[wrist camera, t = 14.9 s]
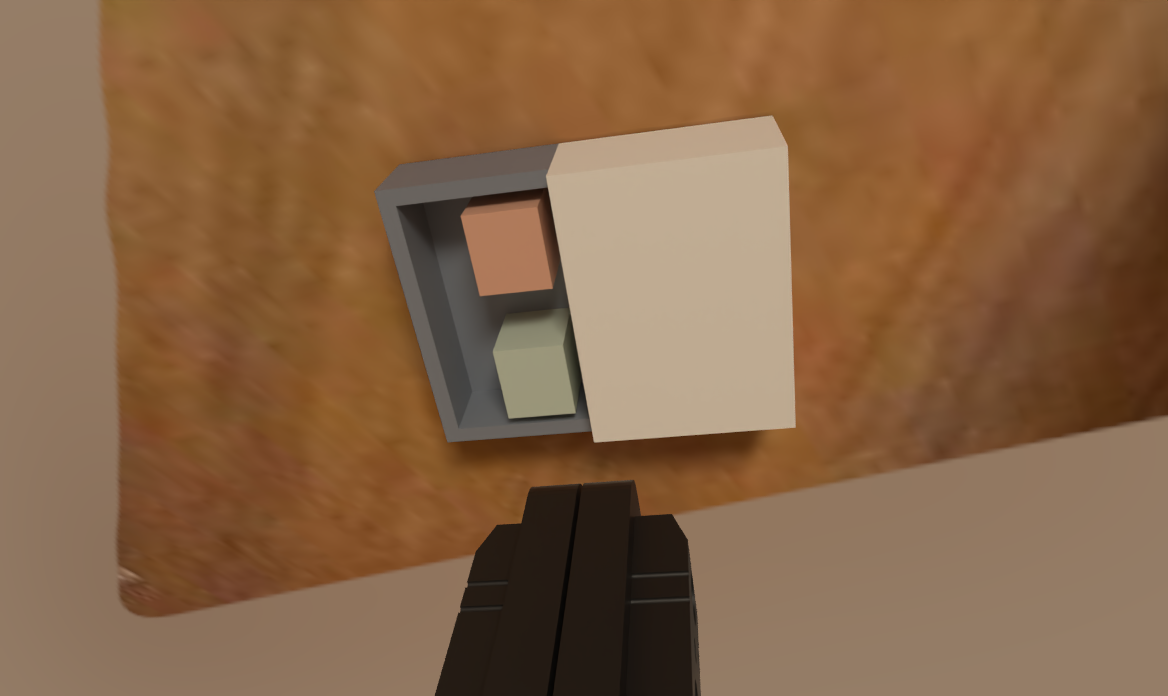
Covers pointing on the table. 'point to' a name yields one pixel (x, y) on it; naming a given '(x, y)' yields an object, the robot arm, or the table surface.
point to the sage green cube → (538, 363)
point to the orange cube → (512, 241)
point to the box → (465, 288)
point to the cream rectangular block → (679, 278)
